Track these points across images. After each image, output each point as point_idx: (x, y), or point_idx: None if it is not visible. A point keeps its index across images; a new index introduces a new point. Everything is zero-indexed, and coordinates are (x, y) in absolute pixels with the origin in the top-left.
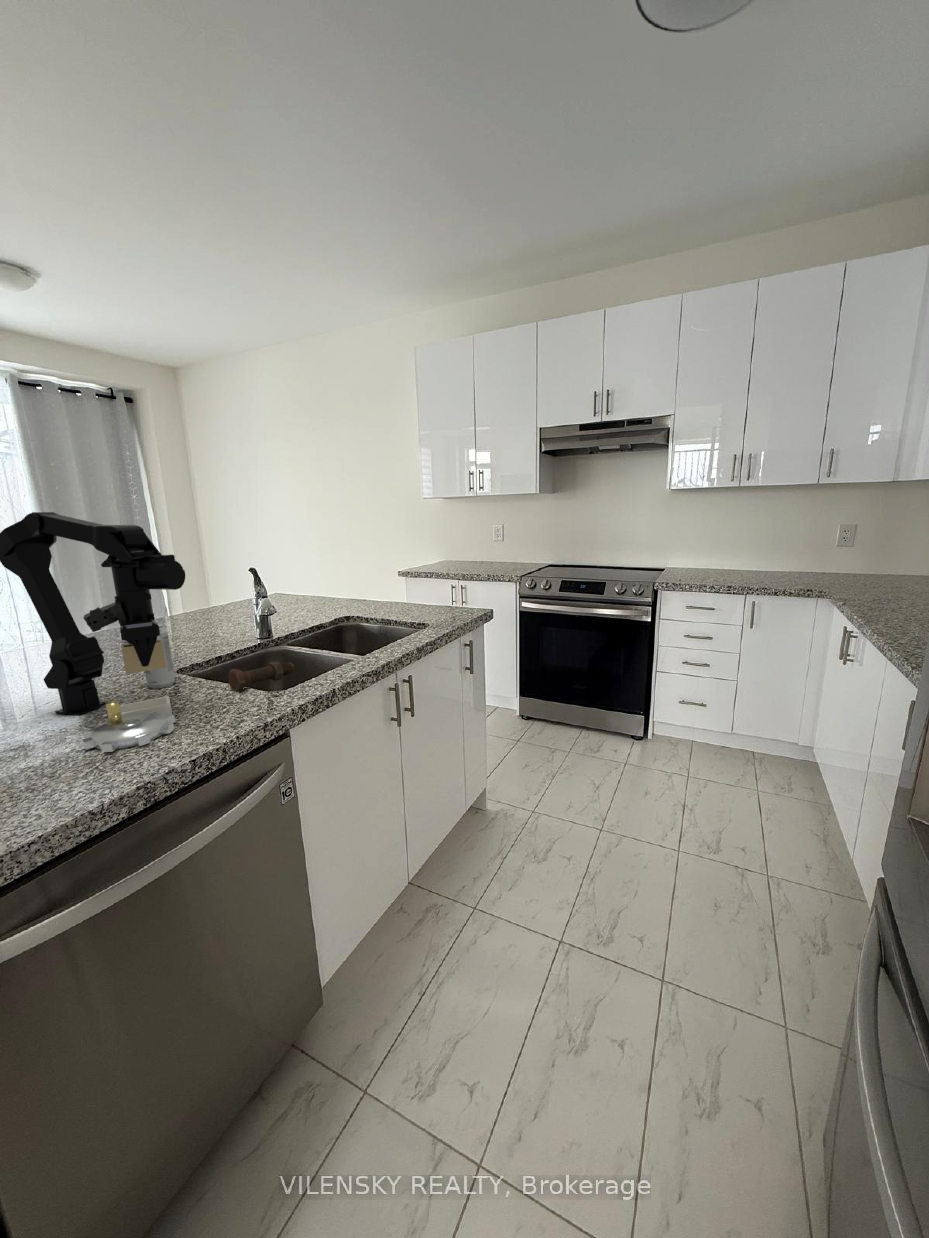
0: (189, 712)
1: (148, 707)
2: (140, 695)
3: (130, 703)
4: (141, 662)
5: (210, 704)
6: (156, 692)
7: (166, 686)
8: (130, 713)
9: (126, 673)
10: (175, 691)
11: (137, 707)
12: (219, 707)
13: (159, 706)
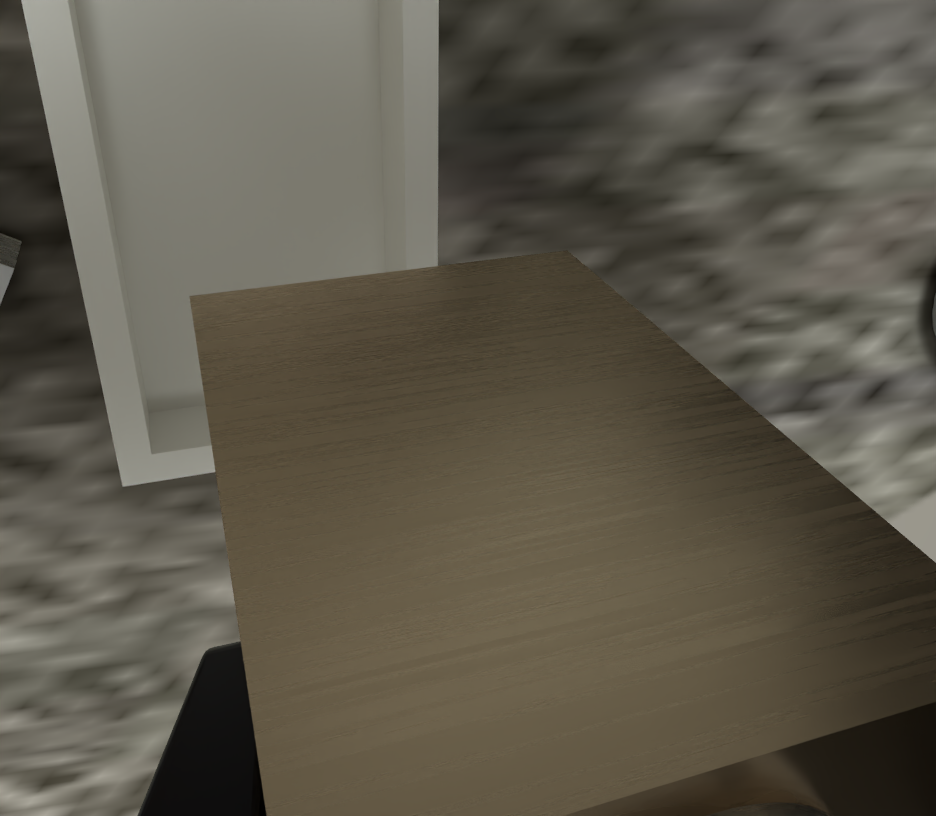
0: (71, 558)
1: (120, 287)
2: (898, 118)
3: (426, 80)
4: (174, 733)
5: None
6: (862, 249)
7: (934, 319)
8: (41, 87)
9: (192, 313)
10: (759, 392)
11: (390, 134)
12: (71, 746)
13: (106, 390)
